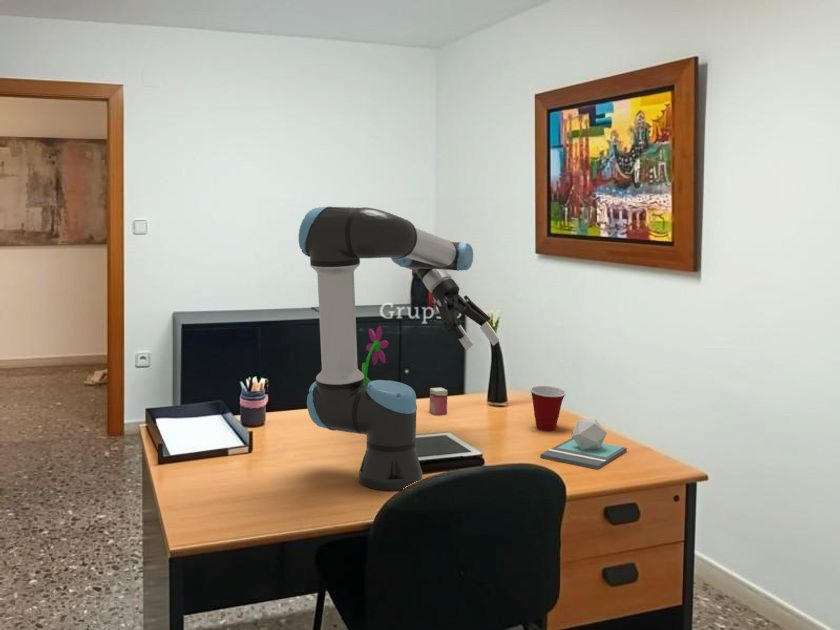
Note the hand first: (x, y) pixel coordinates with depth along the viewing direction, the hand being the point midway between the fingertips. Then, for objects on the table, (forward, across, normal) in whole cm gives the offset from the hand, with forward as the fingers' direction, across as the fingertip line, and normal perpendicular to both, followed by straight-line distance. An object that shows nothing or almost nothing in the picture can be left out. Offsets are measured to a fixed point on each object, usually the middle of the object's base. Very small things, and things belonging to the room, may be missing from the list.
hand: (483, 344), depth 222 cm
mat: (+39, -10, 0) cm, 40 cm away
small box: (-1, -21, -40) cm, 46 cm away
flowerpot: (-6, +5, -47) cm, 47 cm away
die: (+38, -13, 0) cm, 40 cm away
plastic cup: (+24, -27, -15) cm, 39 cm away
